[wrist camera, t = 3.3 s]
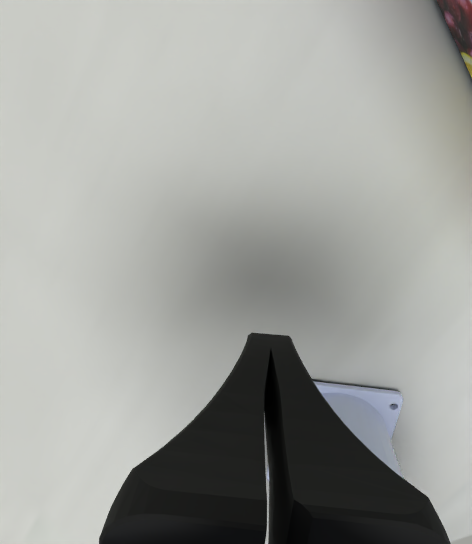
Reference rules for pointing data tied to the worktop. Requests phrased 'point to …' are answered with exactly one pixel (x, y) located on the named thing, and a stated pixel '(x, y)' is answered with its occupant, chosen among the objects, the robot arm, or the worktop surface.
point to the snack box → (460, 26)
